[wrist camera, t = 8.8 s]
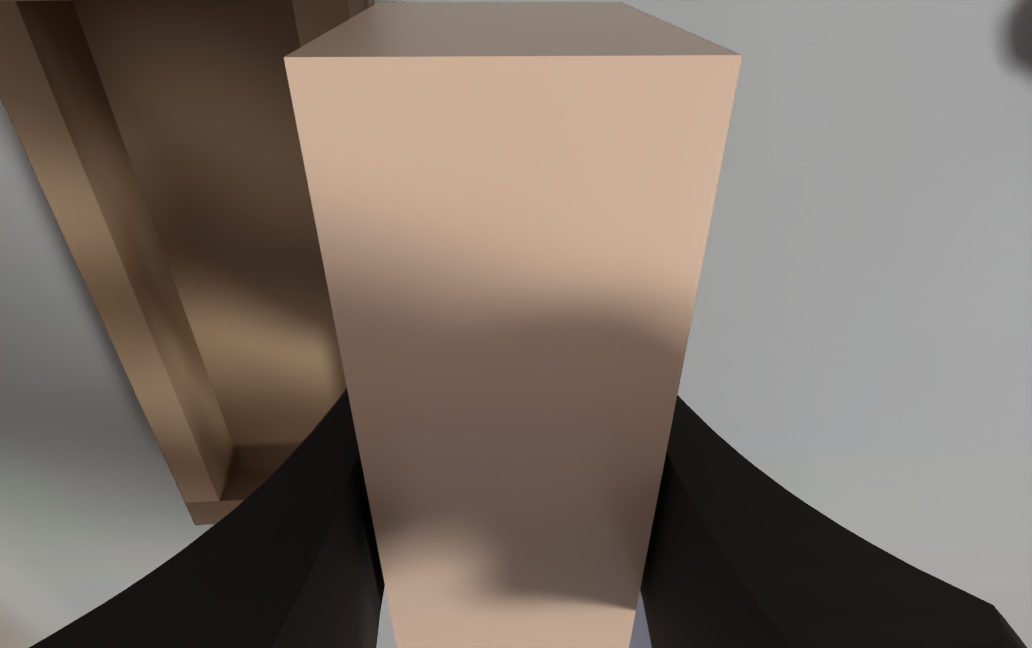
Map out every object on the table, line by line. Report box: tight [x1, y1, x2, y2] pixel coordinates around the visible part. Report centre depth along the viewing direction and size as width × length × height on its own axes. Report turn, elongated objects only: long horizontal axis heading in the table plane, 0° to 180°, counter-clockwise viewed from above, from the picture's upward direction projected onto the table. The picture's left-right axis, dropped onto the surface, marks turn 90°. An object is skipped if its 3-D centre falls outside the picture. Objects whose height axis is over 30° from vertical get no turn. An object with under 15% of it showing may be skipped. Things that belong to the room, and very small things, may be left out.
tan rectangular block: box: [284, 2, 742, 648], centre depth 11 cm, size 13×4×6 cm, turn 0°
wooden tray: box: [0, 0, 374, 525], centre depth 18 cm, size 18×8×3 cm, turn 1°
